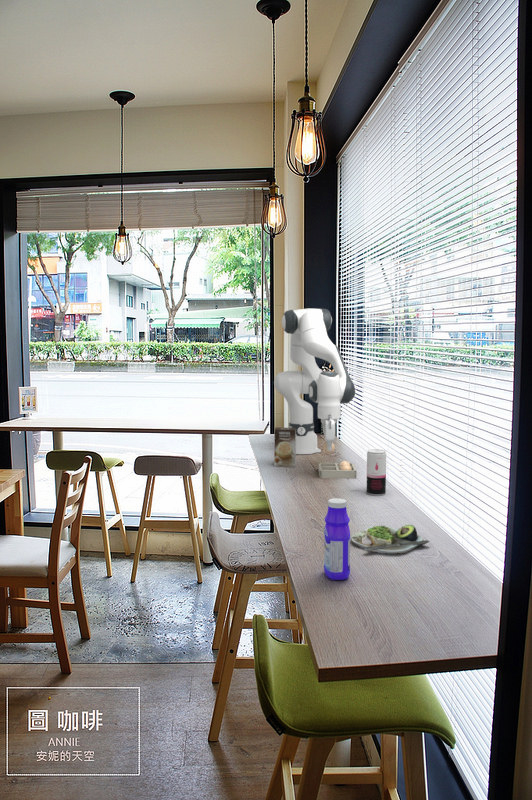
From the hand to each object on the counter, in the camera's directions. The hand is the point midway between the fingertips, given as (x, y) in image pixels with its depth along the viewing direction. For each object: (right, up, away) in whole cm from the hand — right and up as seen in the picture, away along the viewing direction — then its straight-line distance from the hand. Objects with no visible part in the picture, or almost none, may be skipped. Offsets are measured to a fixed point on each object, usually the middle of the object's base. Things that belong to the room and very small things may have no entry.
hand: (329, 449), depth 221 cm
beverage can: (+14, -14, -22) cm, 30 cm away
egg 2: (+7, -10, +7) cm, 14 cm away
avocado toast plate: (+8, -19, -71) cm, 74 cm away
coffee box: (-16, -9, +24) cm, 30 cm away
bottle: (-8, -21, -92) cm, 94 cm away
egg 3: (+7, -11, +1) cm, 13 cm away
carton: (+4, -11, +4) cm, 12 cm away
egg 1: (0, -2, 0) cm, 2 cm away
